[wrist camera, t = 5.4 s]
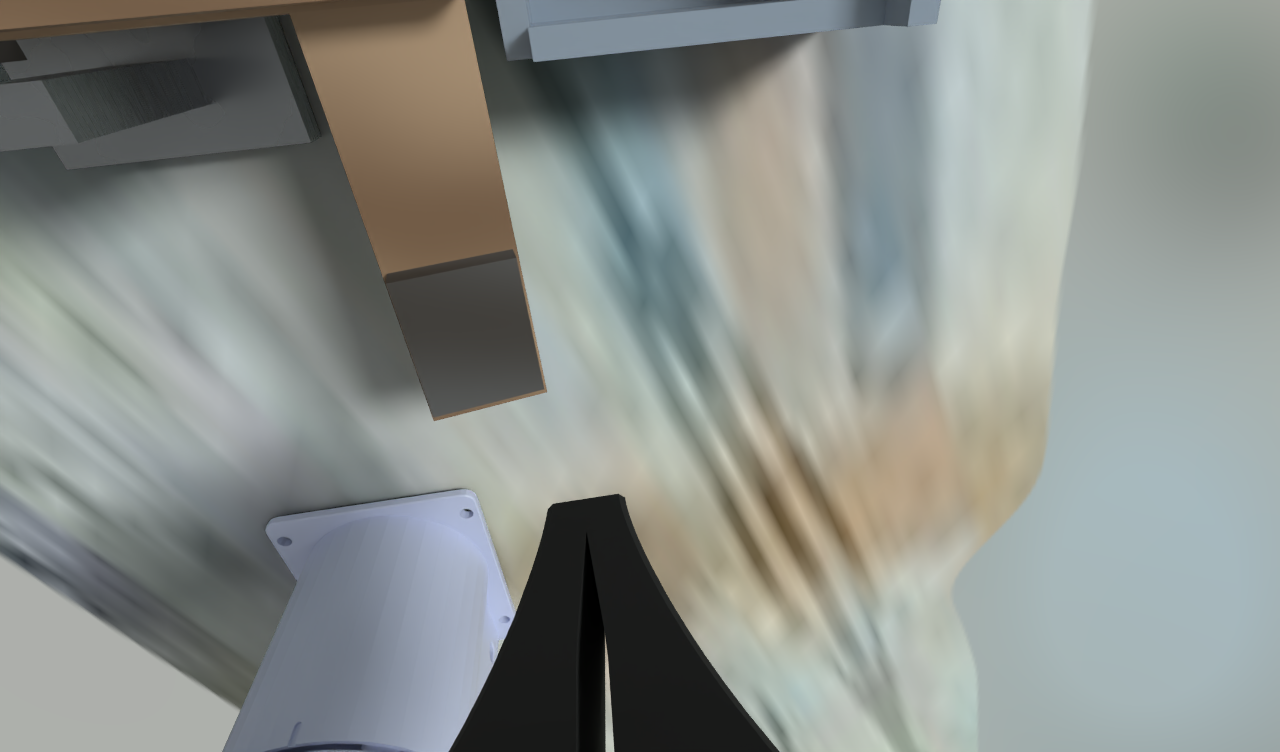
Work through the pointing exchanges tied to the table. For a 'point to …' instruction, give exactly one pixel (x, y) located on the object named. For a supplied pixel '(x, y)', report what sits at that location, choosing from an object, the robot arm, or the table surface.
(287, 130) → the lever stand
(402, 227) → the lever
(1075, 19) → the table surface
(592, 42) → the blue-grey open box
